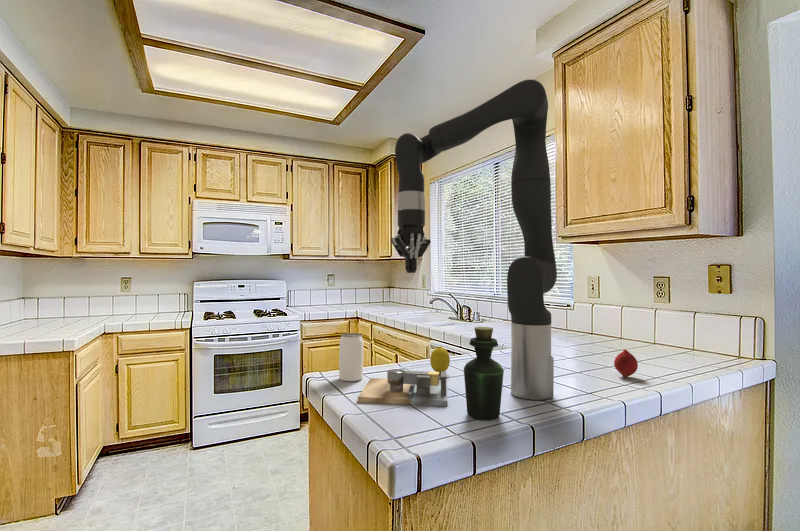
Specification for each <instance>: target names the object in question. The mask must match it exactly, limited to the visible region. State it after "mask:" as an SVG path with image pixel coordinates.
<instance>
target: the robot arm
mask: <svg viewBox="0 0 800 531" xmlns="http://www.w3.org/2000/svg"><path fill="white" fill-rule="evenodd" d="M548 100H549V99H548V96H547V92H546V89H545V87H544V85H543V84H542V82H540V81H538V80H536V79H523V80H521V81H519V82H517V83H515V84H513V85H512V86H509V87H508V88H507V89H505V90H504V91H502V92H501V93H499V94H497V95H495V96H494V97H492V98H490V99H487V100H486V101H485V102H483V103H482V104H479V105H478V106H476V107H474V108H472V109H470V110H469V111H468V110H467V111H466V112H464V113H462V114H459V115H458V116H455V117H453V118H450V119H448V120H446V121H443V122H440V123H438V124H436V125H434V126H432V127H431V128H429V131H428V134H426V135H424V136H423V137H420V138H419V137H418V136H417V135H415V134H413V133H408V132H407V133H403V134H401V135H400V136H399V137H398V138H397V141H396V143H395V146H394V147H395V148H394V156H395V163H396V169H397V170H396V171H397V173H398V197H397V227H398V230H397V234H396V235H395V236H394V237H391V238H390V242H391V244H392V246H393V248H394V249H395V251H396V253H397V254H398V256H399V257H403V258H404V260H405V262H404V263H405V265H404V266H405V267H404V268H405V271H406V273H408V274H416V272H417V270H418V269H417V265H418V263H417V262H418V259H419V258H421V257H424V254H425V253H426V252H427V249H428V247H429V246H430V244H431V239H429V238H427V237H426V236H425V231H424V227H425V226H426V198H425V175H424V173H423V172H422V169H421V164H424V163H426V162H428V161H429V160H433V158H435V157H436V156H438V155H440V153H442V152H446V151H448V150H451V149H454V148H456V147H458V146H461V145H463V144H465V143H467V142H469V141H471V140H472V139H474V138H475V137H477V136H478V135H480V134H481V133H482V132H484V131H486V130H487V129H489V128H490V127H492V126H494V125H496V124H499V123H502V122H505V121H509V120H512V124H513V133H514V141H515V152H514V158H513V162H512V163H513V164H512V170H511V176H510V177H511V178H510V182H511V183H510V188H511V194H510V195H511V205H512V210H513V213H514V215H515V218H516V221H517V223H518V225H519V228H520V231H521V233H522V238H523V244H524V256H520V257H519V256H518V257H517V258H515V259H514V260H513V261H512V262H511V263H510V265H509V267H508V270H507V276H506V287H507V288H506V290H507V293H506V294H507V308H508V312H509V313H510V320H511V321H510V322H511V324H510V325H511V327H510V333H511V334H510V340H511V341H510V344H511V345H510V349H511V350H510V351H511V352H510V393H511V395H513V396H515V397H517V398H520V399H526V400H532V401H533V400H534V401H535V400H536V401H538V400H539V401H542V400H548V399H554V390H555V389H554V388H555V387H554V382H555V381H554V380H555V379H554V374H555V373H554V372H555V371H554V367H555V365H554V364H555V363H554V361H555V359H554V357H553V356H552V313H551V312H550V310H548V309H547V308H546V306H545V300H544V297H545V296H544V294H546V293H548V292H550V291H551V290H553V288H554V287H555V284H556V283H557V282H556V281H557V279H558V278H557V276H558V273H557V272H558V270H557V262H556V256H555V251H554V250H555V249H554V241H553V229H552V228H553V226H552V224H553V223H552V222H553V221H552V219H553V218H552V186H551V184H552V182H551V175H550V174H551V171H550V170H551V169H550V165H549V156H548V153H547V152H548V151H547V144H546V143H547V142H546V138H547V137H546V136H547V121H548V111H549V101H548Z"/></svg>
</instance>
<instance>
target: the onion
mask: <svg viewBox="0 0 800 531" xmlns="http://www.w3.org/2000/svg"><path fill="white" fill-rule="evenodd" d="M613 365H614V366H613V367H614V368H615V369H616V371H617V372H618V373H619V374H620V375H621V376H622V377H624V378H628V377H630V376H632V375H633V374H635V373H636V372H637V370H638V367H639V365H638V360H637V358H636V357H635V356H634V355H633V354H632V353H631V352H630V351H629V350H627V349H626V348H623V349H622V352H619V353H618V354H617V355H616V357H615V359H614V362H613Z"/></svg>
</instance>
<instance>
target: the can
mask: <svg viewBox="0 0 800 531" xmlns="http://www.w3.org/2000/svg"><path fill="white" fill-rule="evenodd" d="M338 347H339V349H338V350H339V352H338V355H339V357H338V359H339V360H338V366H339V368H338V375H339V376H338V377H339V379H340V380H341V381H343V382H349V383H350V382H359V381H362V379H363V378H364V339H363V334H362V333H356V332H349V333H343V334H341V335H340V339H339V346H338Z"/></svg>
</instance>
